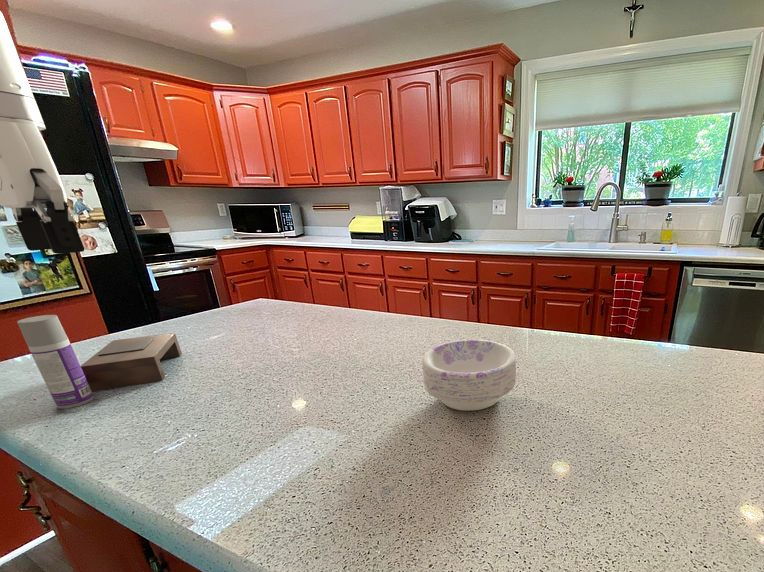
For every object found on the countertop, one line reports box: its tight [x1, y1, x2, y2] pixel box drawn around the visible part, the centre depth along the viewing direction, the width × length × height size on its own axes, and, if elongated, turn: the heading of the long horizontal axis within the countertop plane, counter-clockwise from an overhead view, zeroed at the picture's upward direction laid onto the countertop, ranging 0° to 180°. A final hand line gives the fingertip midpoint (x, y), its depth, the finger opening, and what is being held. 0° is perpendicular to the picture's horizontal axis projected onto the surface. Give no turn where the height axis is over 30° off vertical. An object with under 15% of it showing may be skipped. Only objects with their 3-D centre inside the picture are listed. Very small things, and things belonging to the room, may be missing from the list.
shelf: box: [80, 332, 183, 393], centre depth 80 cm, size 11×16×5 cm
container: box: [16, 314, 95, 410], centre depth 66 cm, size 5×5×15 cm
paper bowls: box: [421, 339, 517, 412], centre depth 65 cm, size 15×15×8 cm
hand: (56, 251), depth 57 cm, fingers open, 9 cm apart
